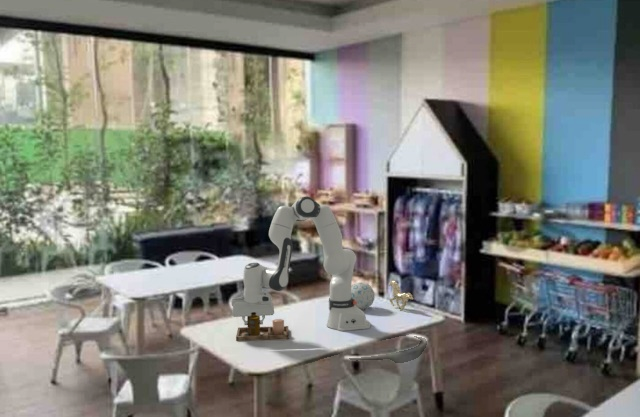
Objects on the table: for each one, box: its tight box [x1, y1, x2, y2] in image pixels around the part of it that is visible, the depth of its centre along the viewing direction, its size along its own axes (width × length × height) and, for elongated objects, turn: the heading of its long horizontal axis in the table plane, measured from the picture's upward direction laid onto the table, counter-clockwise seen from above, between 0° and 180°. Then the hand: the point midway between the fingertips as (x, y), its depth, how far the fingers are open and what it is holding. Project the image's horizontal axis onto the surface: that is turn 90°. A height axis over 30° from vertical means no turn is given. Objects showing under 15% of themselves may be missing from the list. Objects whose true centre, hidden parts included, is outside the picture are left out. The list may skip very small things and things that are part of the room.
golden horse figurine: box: [388, 277, 414, 311], centre depth 324 cm, size 20×4×17 cm, turn 35°
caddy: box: [235, 325, 290, 342], centre depth 280 cm, size 25×14×2 cm, turn 94°
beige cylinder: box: [271, 318, 285, 335], centre depth 280 cm, size 6×6×7 cm
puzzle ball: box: [351, 282, 375, 310], centre depth 325 cm, size 15×15×15 cm
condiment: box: [242, 312, 264, 336], centre depth 279 cm, size 7×8×12 cm
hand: (253, 324), depth 279 cm, fingers open, 6 cm apart
